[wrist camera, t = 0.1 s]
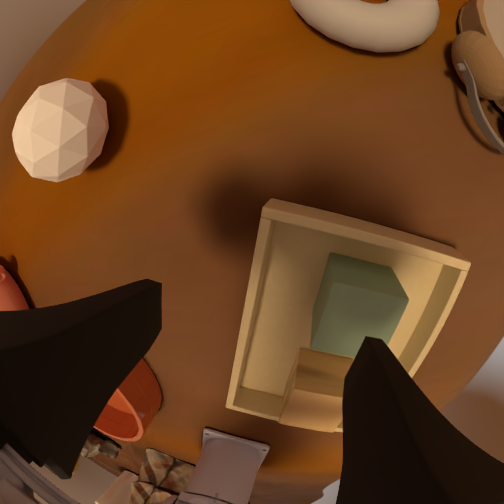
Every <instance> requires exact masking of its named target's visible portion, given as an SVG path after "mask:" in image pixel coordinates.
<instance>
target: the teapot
mask: <svg viewBox="0 0 504 504" xmlns="http://www.w3.org/2000/svg"><path fill="white" fill-rule="evenodd" d="M26 309H29V306H28V304H27V302H26V300H25V298H24V296H23V294H22V292H21V290H20V288H19V287H18V285H17V284H16V282H15V280H14V279H13V278H12V276H11V275H10V274H9V273H8V272H7V271H6V270H5V269H4V267H3V266H2V265H0V311H16V310H26Z"/></svg>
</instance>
